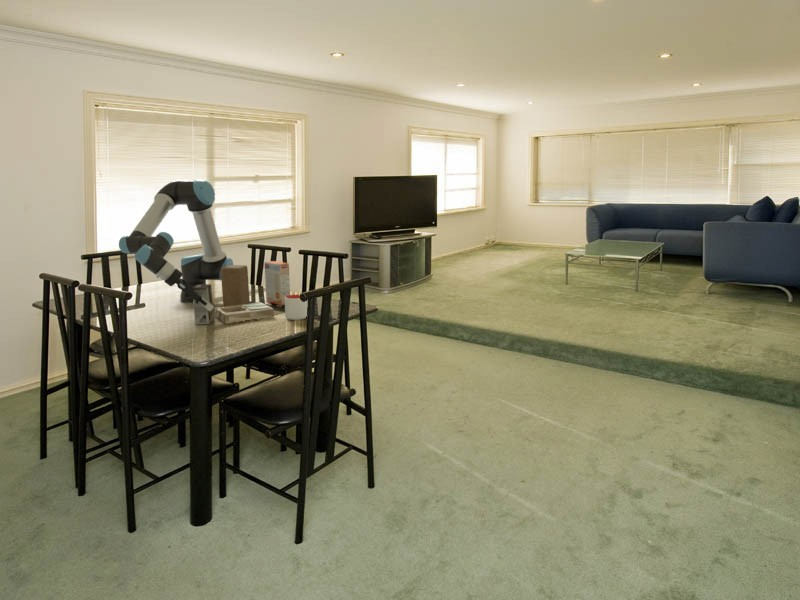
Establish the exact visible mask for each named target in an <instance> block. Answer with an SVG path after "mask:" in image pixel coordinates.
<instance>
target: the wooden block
mask: <svg viewBox="0 0 800 600" xmlns="http://www.w3.org/2000/svg"><path fill="white" fill-rule="evenodd" d="M248 269H249V268H248V266H247V265H246V264H245V265H244V264H240V265H239V264H233V265H229V266H225V267H222V268H221V281H220V282H221V290H222V291H221V292H222V305H223V306H222V307H226V306H234V305H242V304H250V302H251V301H250V286H249V274H248V273H249V272H248Z"/></svg>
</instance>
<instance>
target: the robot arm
mask: <svg viewBox="0 0 800 600" xmlns="http://www.w3.org/2000/svg"><path fill="white" fill-rule="evenodd" d="M215 193H216V192H215V190H214V187H213V185H212V184H211V182H209V181H207V180H204V179H176V180H173V181H170V182H169V183H167V184H165V185H164V186H163V187H162V188H160V190H158V192H156V194H155V195H154V197H153V199H154V200H153V202H152V204H151V205H150V207H148V209H147V211H145V213H144V215H143V216H142V218H141V219H140V220H139V222H138V223H137V224H136V226H135V227H134V229H133V230H132V231H131V233H130V235H125V236H122V237H121V238H120V239H119V241H118V248H119V249H120V252H122V253H123V254H131V255H134V259H135V260H136V262H138V263H139V264H140V265H141V266H142V267H144V268H146V269H147V270H148V271H149V272H151V273H152V274H154V275H156V276H155V278H157V279H158V278H159V279H160V280H162V281H164V283H165V284H167V285H168V286H169V287H173V286H174V285H175V284H176V286H177V288H178V289H179V290H181V291H180V294H179V295H180V299H179V300H180V301H181V302H184V301H187V302H186V303H193V299H194V300H196V303H200V304H201V305H202V306H203V307H205V308H206V309H207V310H209V311H211V310H212V309H213V310H214V309H215V305H211V304H210V303H209V302H208V301H206V300H205V299H204V298H203V297H201V296H199V295H198V294H197V293H196V292H195V291H194V290H192V288H193V287H195V286H196V285H197V284H207V281H220V282H222V281H221V268H222V267H225V266H229V265H234V262H233V259H232V258H230V257H228V256H227V253H226V252H225V251H224V250H222V247H221V242H220V240H219V235H218V232H217V229H216V224H215V221H214V218H213V213H212V208H213V204H214V202H215V200H216V197H215V196H216V194H215ZM180 205H182V206H183V205H186V207H187V210H188V212H190V213H192V216H193V219H194V223H195V226H196V229H197V233H198V237H199V239H200V242H201V246H202V247H201V248H202V249H203V250H202V251H203V254H201V253H200V254H194V255H193V254H192V255H188V256H184V257H182V258H181V260H180V269H181V270H179V269H177V268H175V265H173V264H172V263H170V262H169V261H168V260H166V258H164V257H165V256H166V255H167V254H168V252H169V251H170V250H171V249H172V246H173V245H174V243H175V242H174V238H173V236H172V235H171V234H170V233H168V232H166V231H160V232H158V233H157V234H156V236H153V235H154V234H155V232H156V230H157V229H158V227H159V226H160V224H161V223H162V222H163V220H164V219H165V217H166V216H167V214H168V213H169V211H172V210H173V209H174V208H175V207H176V206H180ZM197 297H198V298H197ZM196 298H197V299H196Z"/></svg>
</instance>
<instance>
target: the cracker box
mask: <svg viewBox="0 0 800 600" xmlns="http://www.w3.org/2000/svg"><path fill="white" fill-rule="evenodd" d="M264 281H265V298H266V301H265V302H267V303H271V304H273V305H279V306H285V296H288V295H291V283H290V263H289V262H281V261H276V260H271V261H264Z"/></svg>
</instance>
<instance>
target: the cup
mask: <svg viewBox="0 0 800 600" xmlns="http://www.w3.org/2000/svg"><path fill="white" fill-rule="evenodd" d="M299 294H300V293H299ZM299 294H290V295H288V296H285V305H284V314H285V318H286V319H287V320H289V321H300V320H301V321H302V320H304V319H307V318H306V316H307V307H308V300H307V301H305V302H302V301H301V300H300V296H299ZM307 317H308V316H307Z"/></svg>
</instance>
